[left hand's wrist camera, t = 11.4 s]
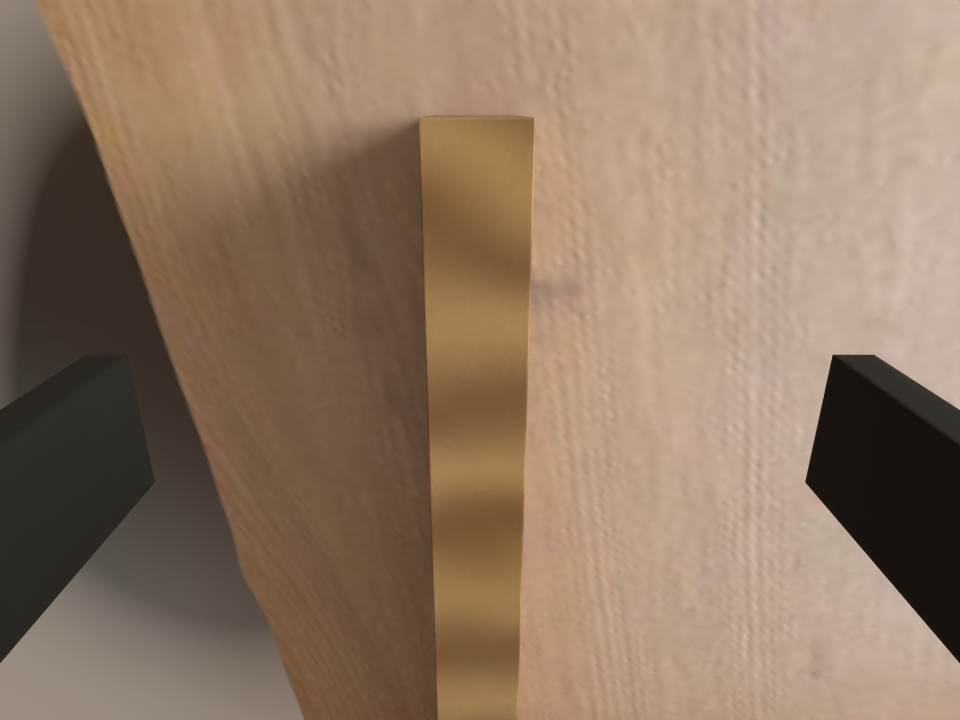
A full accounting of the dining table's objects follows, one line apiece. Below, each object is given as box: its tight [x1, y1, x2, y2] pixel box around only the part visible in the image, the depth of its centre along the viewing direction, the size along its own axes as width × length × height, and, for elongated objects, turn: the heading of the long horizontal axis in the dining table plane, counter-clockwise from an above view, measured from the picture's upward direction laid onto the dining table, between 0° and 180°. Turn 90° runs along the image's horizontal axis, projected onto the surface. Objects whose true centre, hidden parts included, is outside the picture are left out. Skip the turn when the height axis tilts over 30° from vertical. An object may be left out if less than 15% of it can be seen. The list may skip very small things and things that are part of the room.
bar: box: [419, 116, 536, 720], centre depth 38 cm, size 53×4×7 cm, turn 0°
